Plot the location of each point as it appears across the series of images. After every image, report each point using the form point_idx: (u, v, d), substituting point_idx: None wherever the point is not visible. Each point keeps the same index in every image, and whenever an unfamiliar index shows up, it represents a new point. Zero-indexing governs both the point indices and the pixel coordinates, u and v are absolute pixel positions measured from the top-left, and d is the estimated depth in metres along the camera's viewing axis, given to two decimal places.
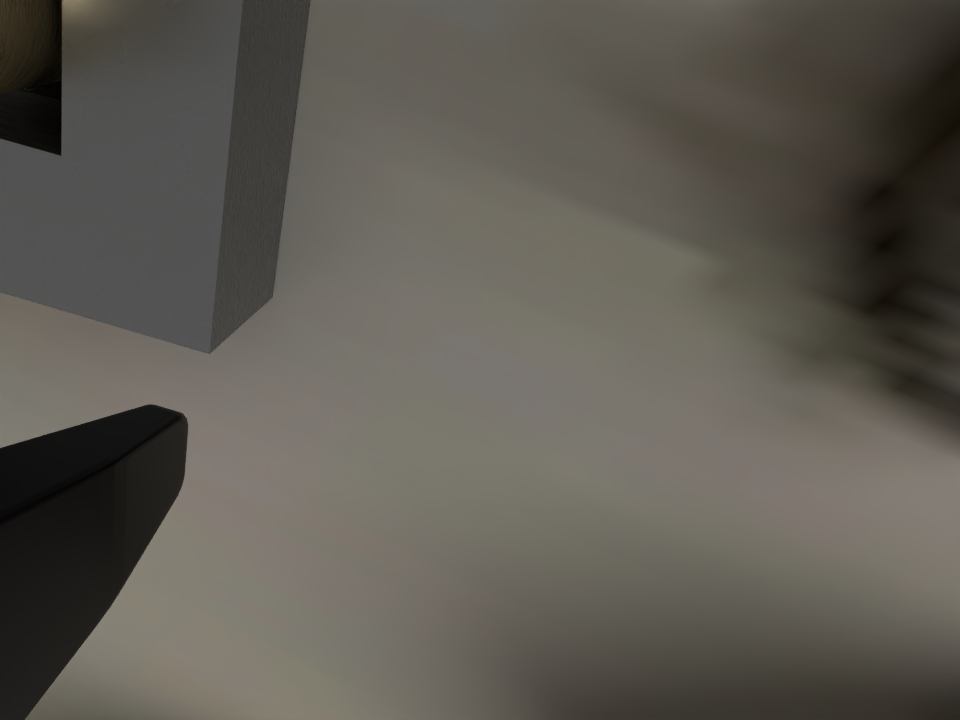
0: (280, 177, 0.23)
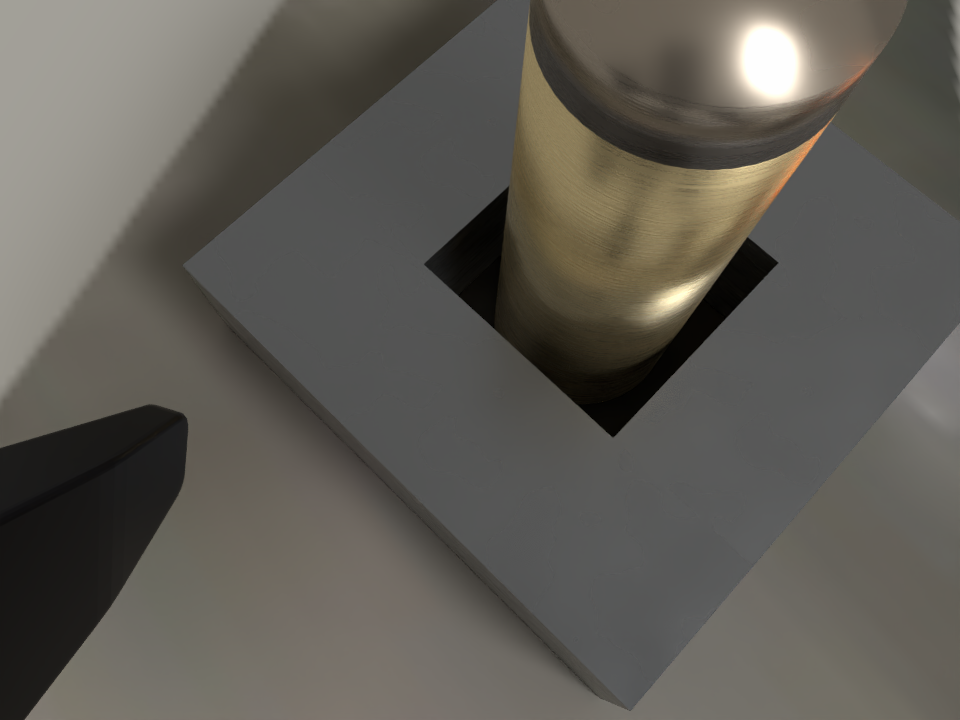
0: None
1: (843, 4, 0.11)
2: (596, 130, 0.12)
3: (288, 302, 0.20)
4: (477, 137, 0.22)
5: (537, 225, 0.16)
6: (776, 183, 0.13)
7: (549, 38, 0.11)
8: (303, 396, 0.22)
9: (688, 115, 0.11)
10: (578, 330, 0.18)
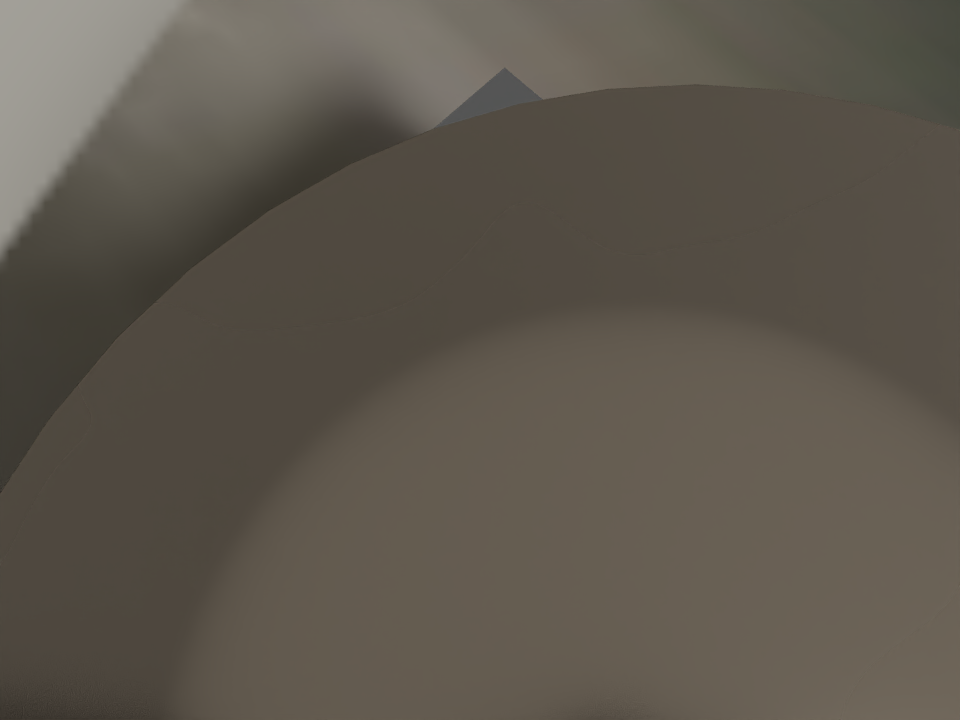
0: None
1: None
2: None
3: None
4: None
5: None
6: None
7: None
8: None
9: None
10: None
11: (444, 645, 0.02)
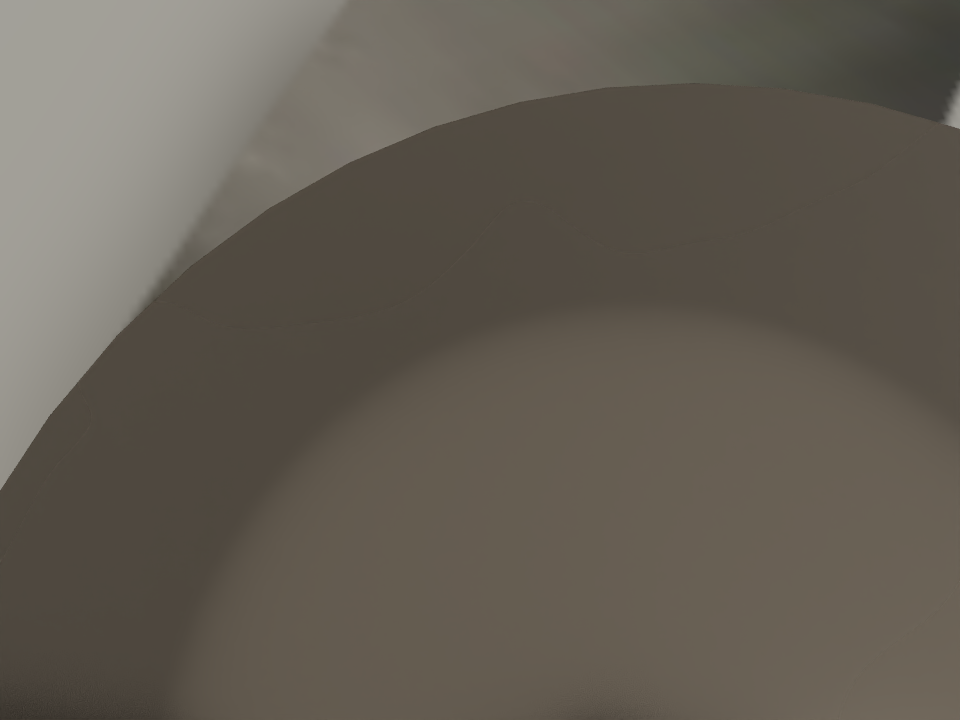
0: None
1: None
2: None
3: None
4: None
5: None
6: None
7: None
8: None
9: None
10: None
11: (444, 642, 0.02)
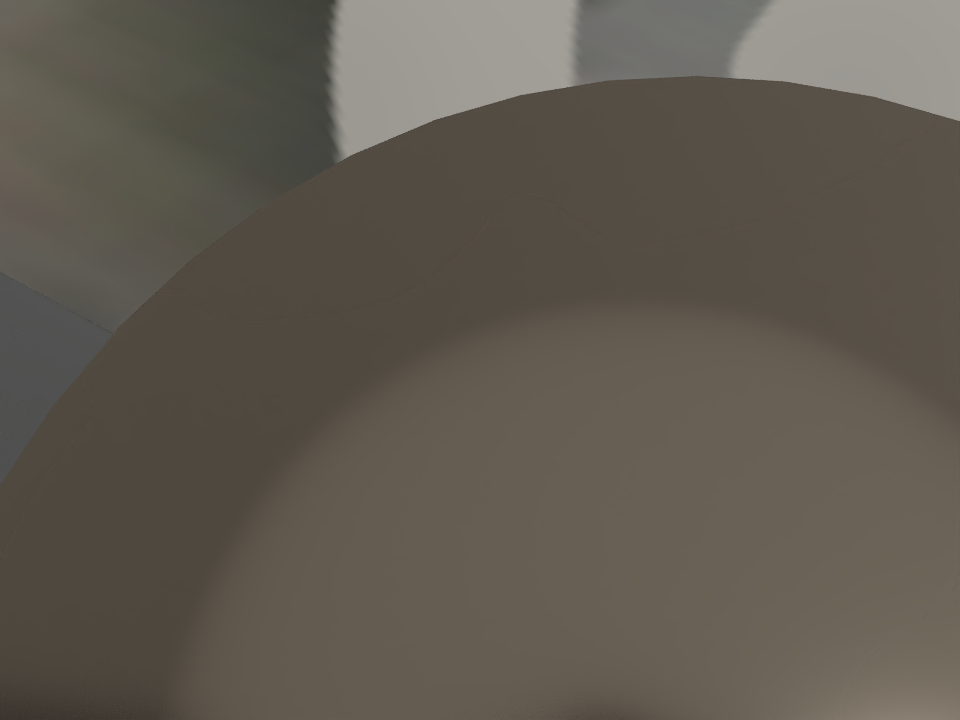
0: None
1: None
2: None
3: None
4: None
5: None
6: None
7: None
8: None
9: None
10: None
11: (448, 631, 0.02)
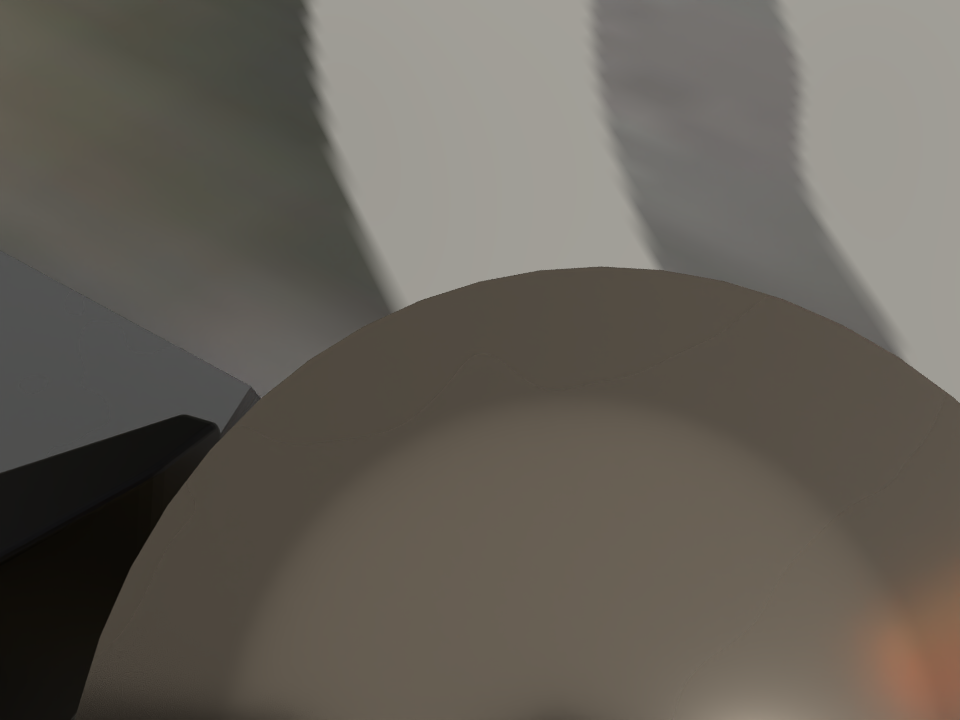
0: None
1: None
2: None
3: None
4: None
5: None
6: None
7: None
8: None
9: None
10: None
11: (428, 653, 0.04)
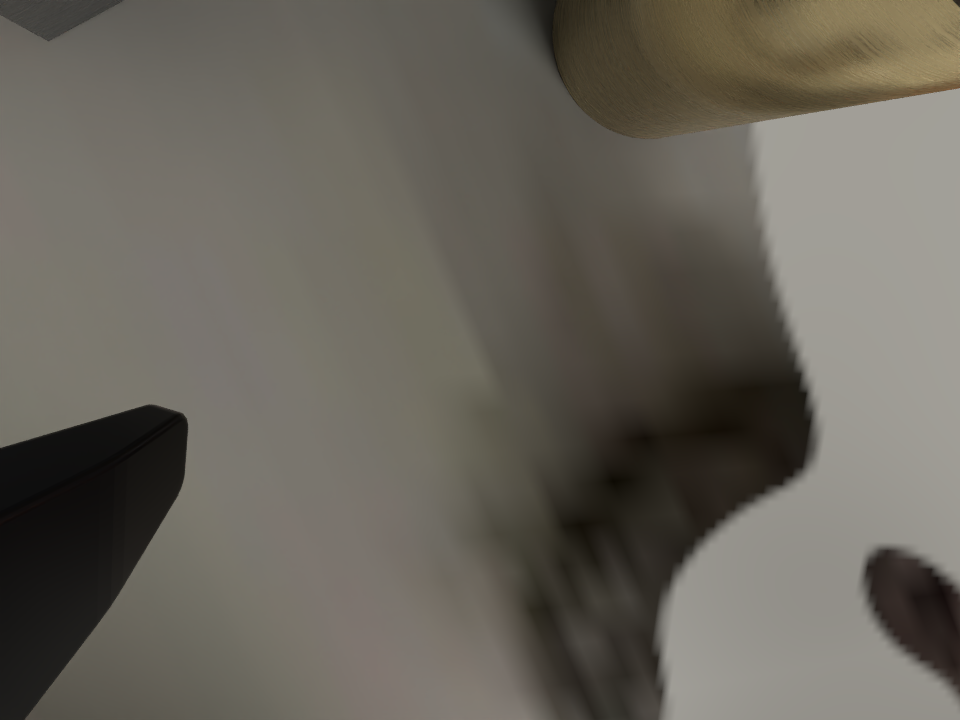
0: None
1: None
2: None
3: None
4: None
5: None
6: None
7: None
8: None
9: None
10: (656, 60, 0.15)
11: None
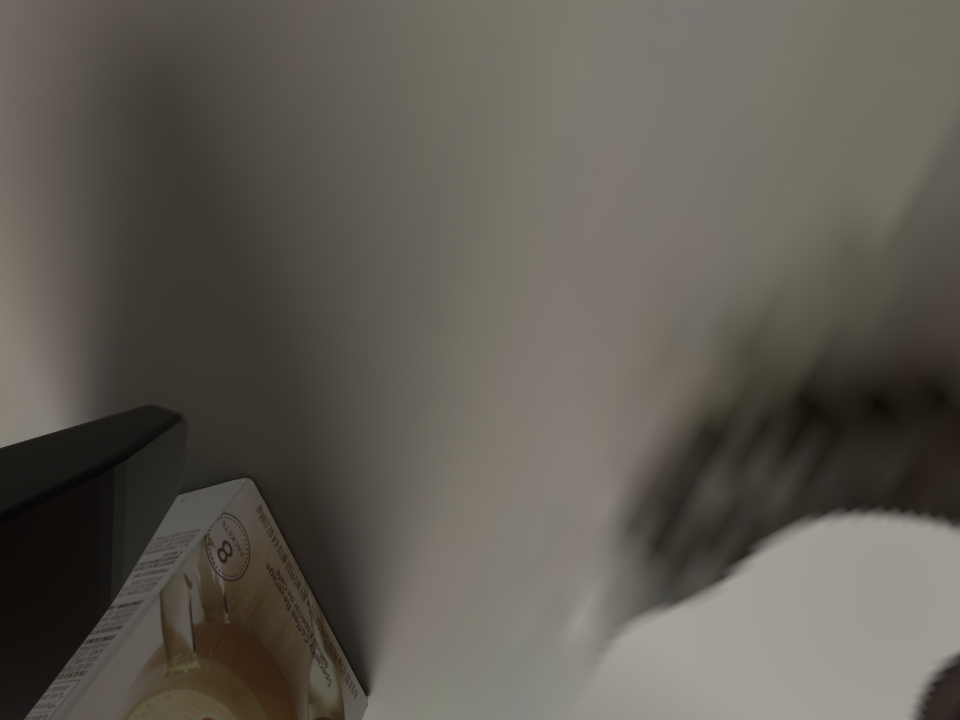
0: None
1: None
2: None
3: None
4: None
5: None
6: None
7: None
8: None
9: None
10: None
11: None
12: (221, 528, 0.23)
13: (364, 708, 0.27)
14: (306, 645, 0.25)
